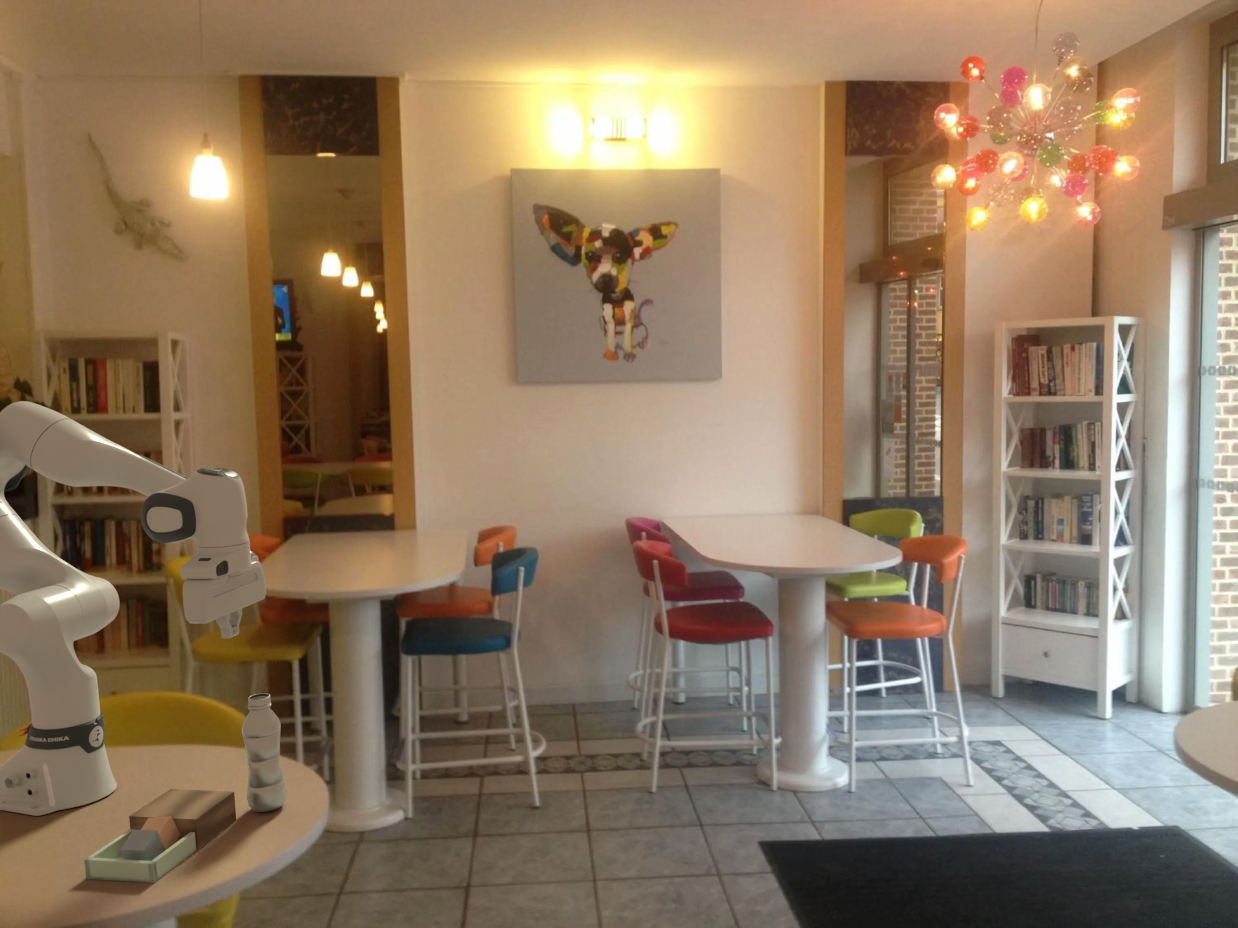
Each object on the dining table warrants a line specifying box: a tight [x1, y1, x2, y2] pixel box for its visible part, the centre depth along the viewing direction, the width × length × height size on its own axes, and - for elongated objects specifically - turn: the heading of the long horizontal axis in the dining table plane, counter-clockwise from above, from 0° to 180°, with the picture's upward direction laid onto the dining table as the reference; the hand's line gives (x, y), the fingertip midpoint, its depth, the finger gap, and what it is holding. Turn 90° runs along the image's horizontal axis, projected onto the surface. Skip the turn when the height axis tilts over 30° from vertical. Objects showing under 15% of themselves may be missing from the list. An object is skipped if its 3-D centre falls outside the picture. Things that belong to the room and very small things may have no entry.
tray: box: [84, 828, 197, 884], centre depth 165 cm, size 12×11×3 cm
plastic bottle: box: [241, 692, 287, 813], centre depth 184 cm, size 6×7×20 cm
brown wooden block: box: [128, 788, 237, 851], centre depth 176 cm, size 12×11×5 cm
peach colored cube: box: [141, 816, 181, 852], centre depth 168 cm, size 4×4×4 cm
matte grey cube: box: [120, 830, 164, 861], centre depth 164 cm, size 4×4×4 cm
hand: (230, 636), depth 189 cm, fingers closed
